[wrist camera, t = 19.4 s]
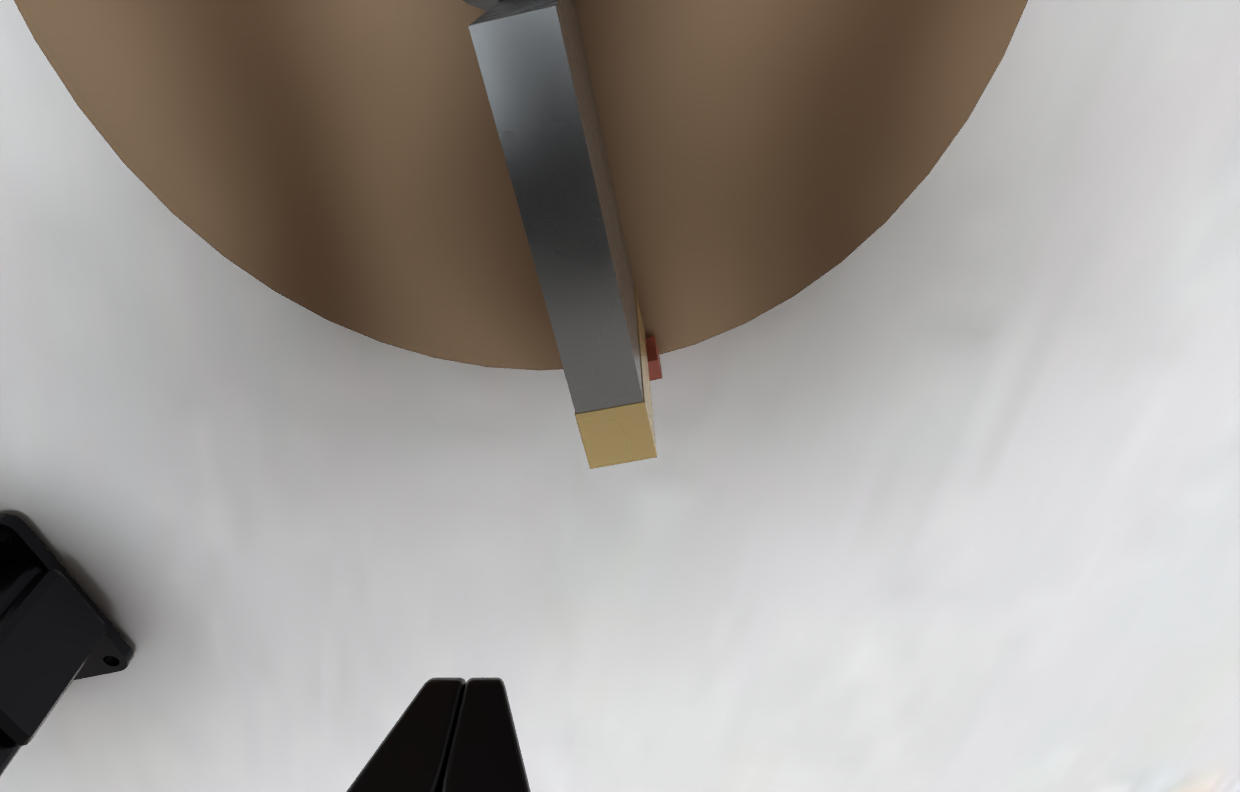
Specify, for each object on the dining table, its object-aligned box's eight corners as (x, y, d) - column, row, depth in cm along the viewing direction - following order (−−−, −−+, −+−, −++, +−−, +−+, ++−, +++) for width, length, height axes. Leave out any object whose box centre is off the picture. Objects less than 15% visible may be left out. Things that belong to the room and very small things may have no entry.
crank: (384, -207, 13) (278, -264, 9) (594, -261, 13) (589, -349, 9) (545, 350, 19) (527, 479, 14) (694, 321, 18) (721, 446, 14)
